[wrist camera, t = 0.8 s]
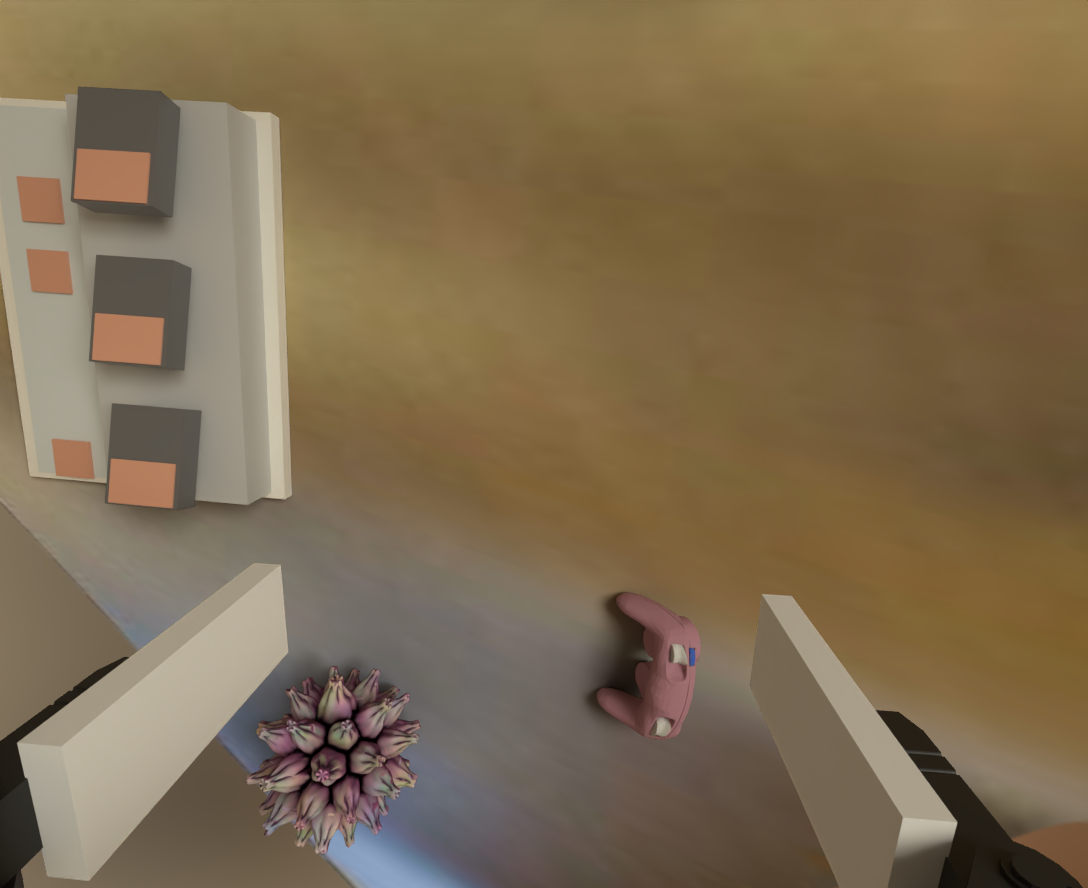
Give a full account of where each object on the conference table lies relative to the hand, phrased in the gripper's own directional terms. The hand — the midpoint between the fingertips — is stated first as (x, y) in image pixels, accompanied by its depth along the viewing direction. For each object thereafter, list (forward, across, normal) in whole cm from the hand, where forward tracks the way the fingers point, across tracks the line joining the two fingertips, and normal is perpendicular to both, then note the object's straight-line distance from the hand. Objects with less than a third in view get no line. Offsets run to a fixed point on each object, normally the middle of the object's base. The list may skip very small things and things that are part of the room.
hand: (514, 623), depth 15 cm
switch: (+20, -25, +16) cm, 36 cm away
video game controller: (+25, +7, -17) cm, 31 cm away
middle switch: (+20, -26, +7) cm, 33 cm away
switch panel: (+25, -30, +8) cm, 40 cm away
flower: (+25, -15, -23) cm, 37 cm away
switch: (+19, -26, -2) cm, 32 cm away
